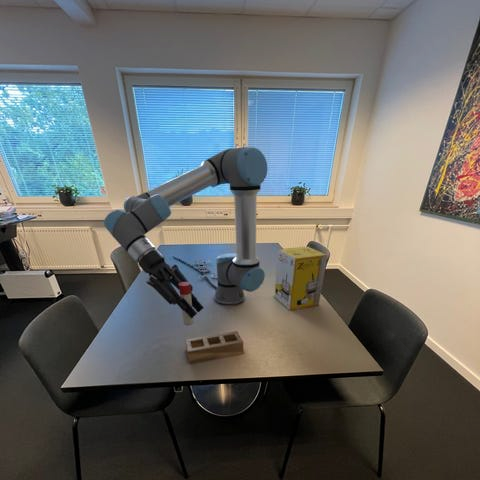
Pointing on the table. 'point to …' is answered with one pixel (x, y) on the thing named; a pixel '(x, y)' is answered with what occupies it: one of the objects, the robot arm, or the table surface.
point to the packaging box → (299, 277)
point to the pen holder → (214, 346)
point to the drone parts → (203, 268)
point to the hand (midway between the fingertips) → (197, 312)
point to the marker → (186, 294)
